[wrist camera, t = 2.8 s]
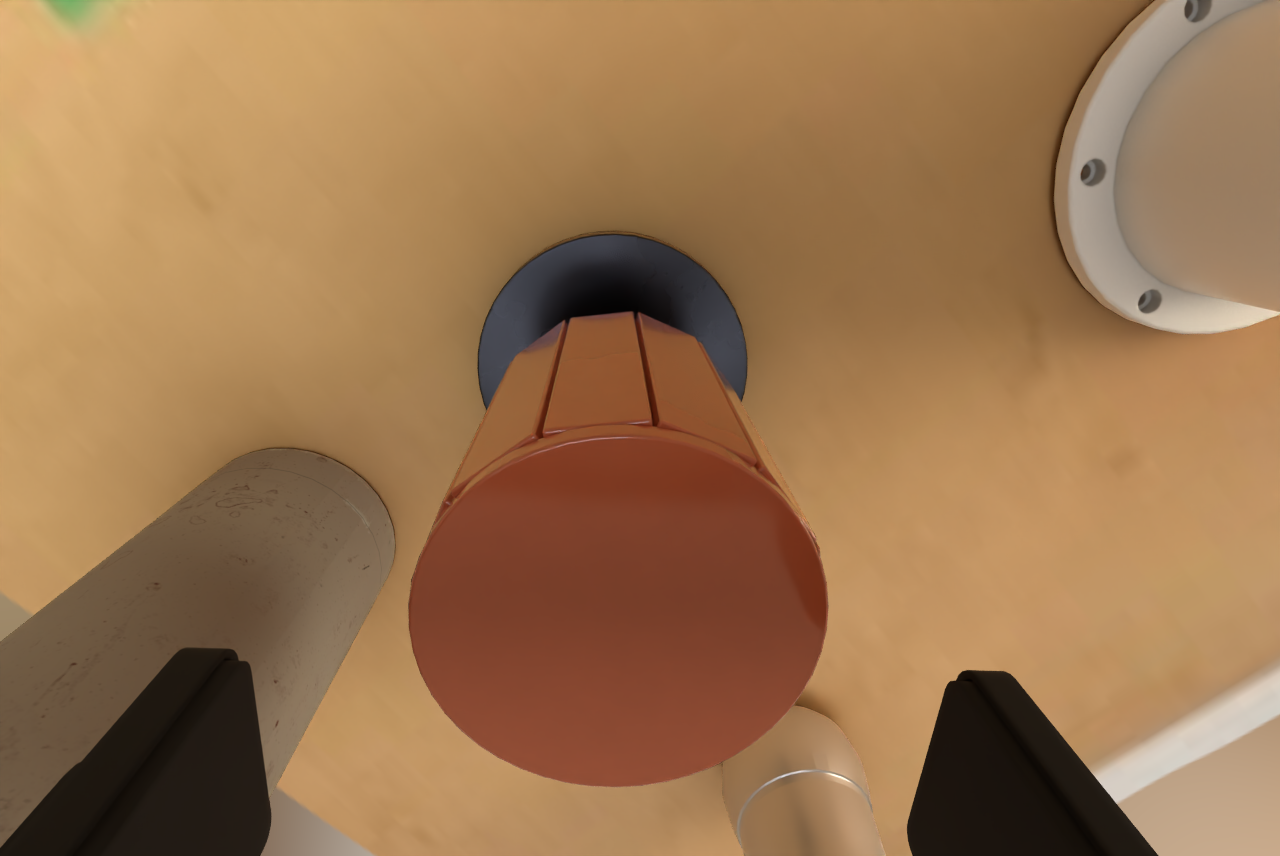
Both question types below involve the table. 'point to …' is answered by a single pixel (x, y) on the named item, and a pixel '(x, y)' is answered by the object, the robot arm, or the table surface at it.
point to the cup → (617, 565)
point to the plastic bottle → (801, 792)
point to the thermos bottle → (199, 614)
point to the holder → (610, 300)
